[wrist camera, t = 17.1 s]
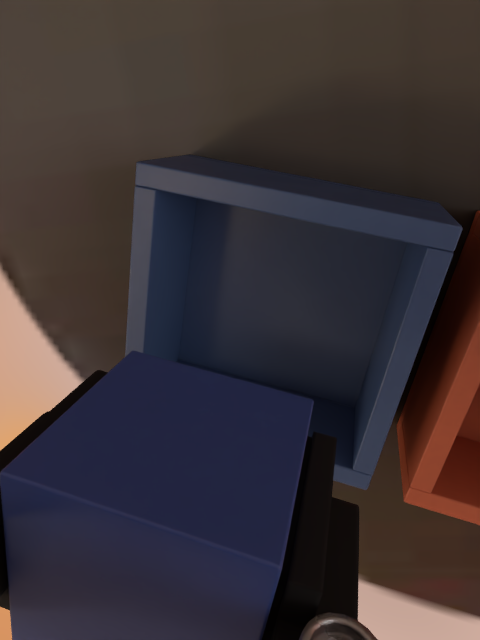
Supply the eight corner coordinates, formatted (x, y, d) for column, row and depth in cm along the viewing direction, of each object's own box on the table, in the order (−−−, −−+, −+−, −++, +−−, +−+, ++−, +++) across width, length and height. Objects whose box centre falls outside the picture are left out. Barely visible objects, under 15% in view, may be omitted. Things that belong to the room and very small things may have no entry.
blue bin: (188, 154, 20) (135, 161, 15) (439, 202, 18) (464, 226, 13) (167, 362, 24) (121, 416, 20) (367, 418, 22) (366, 491, 18)
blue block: (131, 349, 11) (-3, 471, 7) (315, 399, 10) (282, 568, 6) (122, 488, 13) (11, 649, 9) (277, 539, 12) (233, 741, 8)
